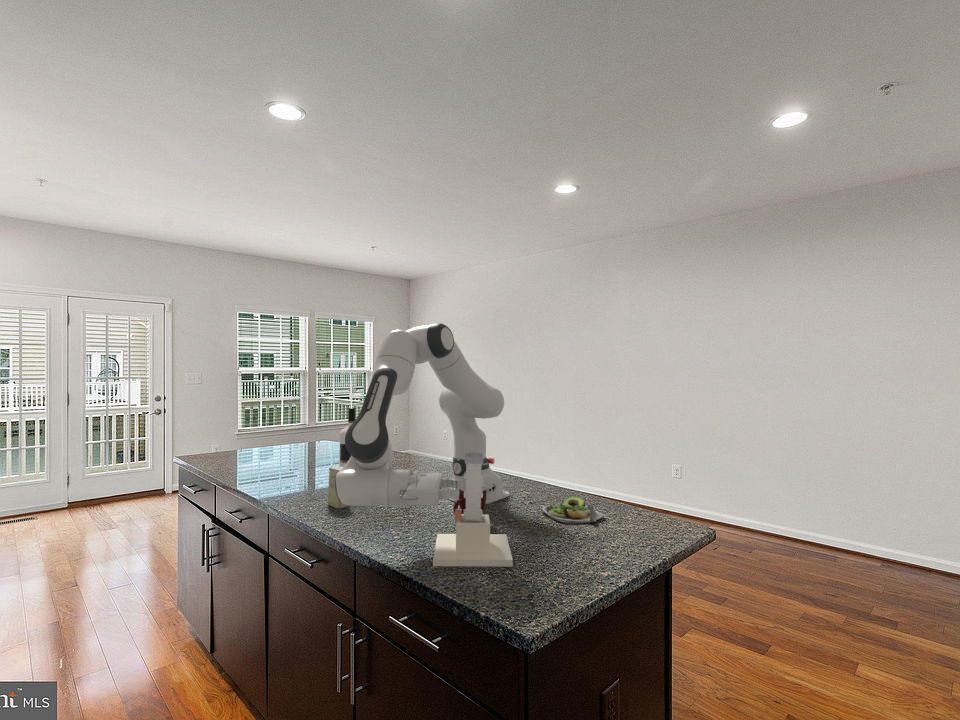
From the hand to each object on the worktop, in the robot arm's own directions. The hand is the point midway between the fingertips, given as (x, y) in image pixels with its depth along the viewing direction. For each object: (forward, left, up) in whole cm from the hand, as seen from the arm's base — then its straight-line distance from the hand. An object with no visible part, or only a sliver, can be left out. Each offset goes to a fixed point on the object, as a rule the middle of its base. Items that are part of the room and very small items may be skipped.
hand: (459, 488), depth 124 cm
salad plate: (-48, 0, -16) cm, 50 cm away
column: (-2, +2, -15) cm, 16 cm away
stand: (-2, +2, -15) cm, 16 cm away
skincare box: (+1, -57, -16) cm, 59 cm away
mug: (-17, -15, -16) cm, 28 cm away
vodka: (-13, -74, -16) cm, 76 cm away
